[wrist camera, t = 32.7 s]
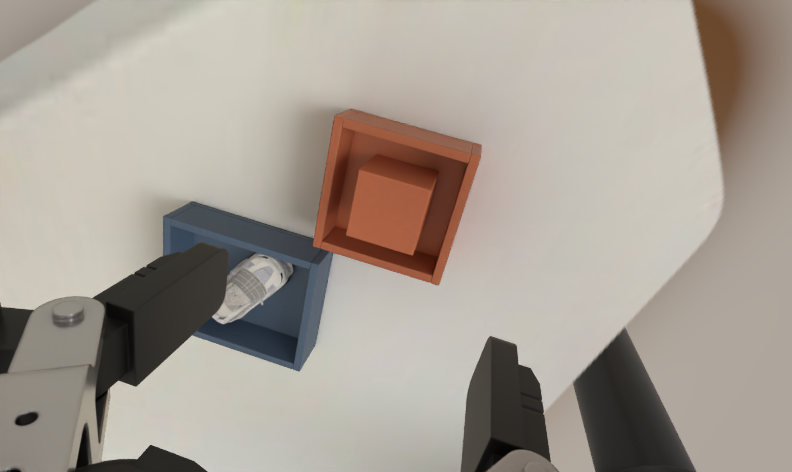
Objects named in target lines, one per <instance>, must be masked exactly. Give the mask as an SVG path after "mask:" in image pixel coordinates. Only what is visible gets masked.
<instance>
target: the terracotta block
mask: <svg viewBox="0 0 792 472" xmlns="http://www.w3.org/2000/svg"><path fill="white" fill-rule="evenodd" d="M438 175H439V171H435V170H432V169H428V168H425V167H421V166H418V165H414V164H411V163H407V162H404V161H400V160H397V159H393V158H390V157H386V156H383V155H379V154H376V155H375V156H374V157H373V158H372V159H371V160H369V161H368V162H367V163H366V164H365V165H364V166H363V167H362V168H360V169H359V172H358V177H357V182H356V187H355V192H354V197H353V202H352V207H351V212H350V216H349V221H348V226H347V231H346V235H347V236H350V237H353V238H356V239H360V240H363V241H366V242H369V243H373V244H376V245H379V246H382V247H386V248H389V249H392V250H396V251H399V252H402V253H405V254H409V255H413V254H414V251H415V249H416V246H417V243H418V241H419V238H420V236H421V233H422V230H423V227H424V224H425V220H426V217H427V213H428V210H429V206H430V203H431V199H432V196H433V192H434V189H435V185H436V182H437V178H438Z"/></svg>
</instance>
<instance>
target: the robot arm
mask: <svg viewBox="0 0 792 472" xmlns="http://www.w3.org/2000/svg"><path fill="white" fill-rule="evenodd" d="M228 261H229V253H228V251H227V250H226V249H224V248H221V247H218V246H215V245H212V244H208V243H205V242H199V243H198V244H196V245H194V246H193V247H191V248H190V249H188V250H186V251H185V252H183V253H182V252H176V253H173V254H169V255H166V256H162V257H160V258H158V259H156V260H155V261H153V262H151V263H150V264H148V265H147V266H146V268H145V267H143V268H141V269H140V270H138V271H136V272H135V274H134V275H133V274H131V275H130V276H128V277H126V278H125V279H123V280H121V281H120V282H118V283H116V284H115V285H113V286H111V287H110V288H108V289H107V290H105V291H103V292H102V293H100V294H98V295H97V296H95V297H93V298H88V297H80V296H73V297H64V298H59V299H55V300H52V301H49V302H47V303H45V304H43V305H41V306H39V307H38V308H37V309H35V310H26V309H16V308H5V307H1V304H0V472H207V471H206V470H205V469H203V468H202V467H201V466H200V465H198V464H197V463H196V462H194V461H192V460H189V459H187V458H184V457H181V456H179V455H176V454H174V453H171V452H168V451H166V450H163V449H160V448H158V447H155V446H152V445H150V446H149V447H148V448H147V449H146V450H145V451H144V453H143V454H142V455H141V456H140V457H139V458H138V459H118V460H110V461H103V462H102V453H103V445H104V438H105V431H106V423H107V416H108V409H109V401H110V387H111V386H112V385H114V384H115V383H116V382H117V381H118V380H119V381H122V382H124V383H127V384H130V385H133V386H135V387H136V386H137V385H138V384H140V383H141V382H142V381H143V380H144V379H145V378H146V377H147V376H148V375H149V374H150V373H151V372H153V371H154V370H155V369H156V368H157V367H158V366H159V365H160V364H161V363H162V362H163V361H164V360H166V359H167V358H168V357H169V356H170V355H171V354H172V353H173V352H174V351H175V350H176V349H177V348H179V347H180V346H181V345H182V344H183V343H184V342H185V341H186V340H187V339H188V338H189V337H191V336H192V335H193V334H194V333H195V332H196V331H197V330H198V329H199V328H200V327H201V326H202V325H204V324H205V323H206V322H207V321H208V320H209V319H210V318H211V317H212V316H213V315H214V314H215V313H216V312H217V311H218V310H219V309H220V307H221V305H222V304H223V301H224V299H225V295H226V286H227V273H228ZM541 400H542V396H541V389H540V383H539V382H538V380H537V378H536V377H535V375H534V373H533V372H532V370H531V368H528V367H525V366H522V365H519V364H518V355H517V346H516V344H513V343H510V342H507V341H504V340H501V339H498V338H495V337H492V336H490V337H489V338H488V340H487V342H486V344H485V347H484V349H483V351H482V354H481V356H480V359H479V361H478V364H477V366H476V368H475V371H474V373H473V376H472V378H471V381H470V385H469V389H468V394H467V401H466V414H465V426H464V439H463V451H462V464H461V472H559V471H558V470H557V469H556V468H555V467H554V465H553V464H551V461H550V453H549V446H548V439H547V432H546V426H545V418H544V415H543V412H544V410H543V403H542V402H541Z"/></svg>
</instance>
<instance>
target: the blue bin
mask: <svg viewBox="0 0 792 472" xmlns="http://www.w3.org/2000/svg"><path fill="white" fill-rule="evenodd" d="M313 240H314V239H311V238H308V237H305V236H302V235H299V234H295V233H292V232H289V231H286V230H282V229H279V228H276V227H273V226H270V225H266V224H263V223H260V222H257V221H253V220H250V219H247V218H244V217H240V216H237V215H234V214H231V213H228V212H224V211H221V210H218V209H215V208H211V207H208V206H205V205H202V204H198V203H195V202H191V203H189V204H187V205H185V206H183V207H181V208H179V209H177V210H175V211H173V212H171V213H169V214H167V215H165V216H164V217H163V256H166V255H169V254H173V253H176V252H182V253H183V252H185V251H186V250H188V249H190V248H191V247H193V246H194V245H196V244H198V243H199V242H205V243H208V244H212V245H215V246H218V247H221V248H224V249H226V250H227V251H228V253H229V261H228V273H227V276H228V275H229V274H230V271H231V270H233V269H234V268H235V267H236V266H237V265H238V264H240V263H241V262H242V261H243V260H245V259H248V258H249V257H250V256H251V255H252V254H253V253H254V252H256V253H259V254H262V255H265V256H269V257H272V258H275V259H278V260H281V261H284V262H288V263H291V264H292V266H293V273H292V274H291V275H290V276H289V278H290V281H289V282H288V283H287V284H286V285H285V286H283V287H282V288H281V289H280V290H278V291H276V292H275V293H274V294H272V295H271V296H270V297H268V298H267V299H265V300H264V301H263V305H261V303H259V304H258V305H256V306H255V307H254V308H252V309H251V310H250V311H249V312H248V313H247V314H246V315H245V316H243V317H242V318H240V319H237V320H235V321H233V322H228V323H225V324H221V323H219V322H217V321H216V320H215V319H214V318H212V317H211V318H210V319H209V320H208V321H207V322H206V323H205V324H204V325H202V326H201V327H200V328H199V329H198V330H197V331H196V332H195V333H194V334H193V336H196V337H199V338H202V339H205V340H208V341H211V342H214V343H217V344H219V345H222V346H225V347H228V348H231V349H234V350H237V351H240V352H243V353H246V354H249V355H252V356H255V357H258V358H261V359H264V360H267V361H270V362H273V363H276V364H279V365H281V366H284V367H287V368H290V369H293V370H296V371H300V370H301V368H302V366H303V365H304V363H305V361H306V360H307V358H308V356H309V355H310V353H311V351H312V350H313V348H314V347H315V344H316V338H317V333H318V328H319V323H320V318H321V313H322V307H323V302H324V297H325V292H326V287H327V282H328V277H329V271H330V266H331V261H332V256H333V252H330V251H327V250H323V249H321V248H317V247H314V246H313Z"/></svg>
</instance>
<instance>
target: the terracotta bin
mask: <svg viewBox="0 0 792 472" xmlns="http://www.w3.org/2000/svg"><path fill="white" fill-rule="evenodd" d="M481 149H482V146H481V145H478V144H475V143H471V142H468V141H464V140H460V139H457V138H453V137H450V136H446V135H443V134H439V133H435V132H432V131H428V130H425V129H421V128H418V127H414V126H410V125H407V124H403V123H400V122H396V121H393V120H389V119H385V118H382V117H378V116H375V115H371V114H368V113H364V112H360V111H357V110H353V109H350V110H348V111H345V112H343V113H340V114H338V115H335V116H334V122H333V128H332V134H331V140H330V146H329V152H328V158H327V163H326V169H325V175H324V181H323V187H322V193H321V199H320V205H319V211H318V217H317V223H316V229H315V234H314V240H313V246H314V247H317V248H321V249H323V250H327V251H330V252H333V253H336V254H339V255H343V256H346V257H349V258H352V259H356V260H359V261H362V262H365V263H368V264H372V265H375V266H378V267H381V268H384V269H388V270H391V271H394V272H397V273H401V274H404V275H407V276H410V277H413V278H417V279H420V280H423V281H426V282H431V283H432V284H435V285H439V284H440V281H441V277H442V274H443V271H444V268H445V265H446V262H447V259H448V256H449V253H450V250H451V247H452V244H453V241H454V238H455V235H456V232H457V229H458V225H459V222H460V219H461V216H462V213H463V210H464V207H465V204H466V201H467V198H468V195H469V192H470V189H471V186H472V183H473V180H474V176H475V173H476V170H477V167H478V164H479V161H480V158H481ZM376 154H379V155H383V156H386V157H390V158H393V159H397V160H400V161H404V162H407V163H411V164H414V165H418V166H421V167H425V168H428V169H432V170H435V171H439V175H438V178H437V182H436V185H435V189H434V192H433V196H432V199H431V203H430V206H429V210H428V213H427V217H426V220H425V224H424V227H423V230H422V233H421V236H420V238H419V241H418V243H417V246H416V249H415V251H414V254H413V255H409V254H405V253H402V252H399V251H396V250H392V249H389V248H386V247H382V246H379V245H376V244H373V243H369V242H366V241H363V240H360V239H356V238H353V237H350V236H347V235H346V231H347V226H348V221H349V216H350V212H351V207H352V202H353V197H354V192H355V187H356V182H357V177H358V172H359V169H360V168H362V167H363V166H364V165H365V164H366V163H367V162H368V161H369V160H371V159H372V158H373V157H374V156H375V155H376Z"/></svg>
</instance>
